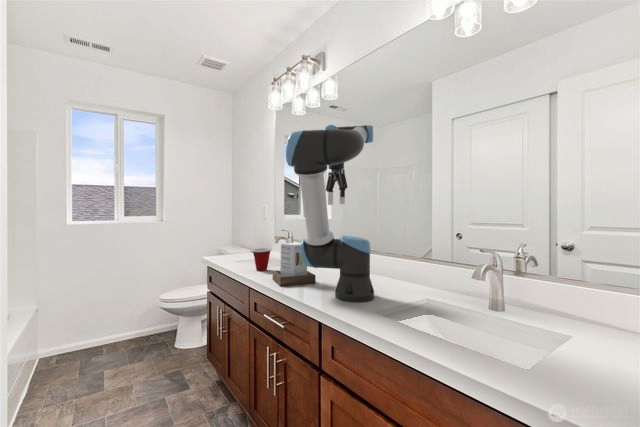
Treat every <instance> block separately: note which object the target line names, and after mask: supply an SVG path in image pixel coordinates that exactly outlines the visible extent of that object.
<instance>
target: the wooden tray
mask: <svg viewBox="0 0 640 427" xmlns="http://www.w3.org/2000/svg"><path fill="white" fill-rule="evenodd" d="M272 280H273V281H274V282H275V283H276V285H278V286H279V287H281V288H282V287H289V286H290V287H291V286H294V287H295V286H303V285H316V274H314V273H312V271H308V270H307V275H301V276H285V277H282V276H281V275H280V270H273V271H272Z"/></svg>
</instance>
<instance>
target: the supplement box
mask: <svg viewBox="0 0 640 427" xmlns="http://www.w3.org/2000/svg"><path fill="white" fill-rule="evenodd" d="M300 247H301V242H290V243H289V242H288V243H281V244H280V266H279V267H280V270H279V271H280V275H281V276H282V277H285V276H301V275H307V271H308V266H306V265H305V264H304V263H303V261H302V258H301V248H300Z"/></svg>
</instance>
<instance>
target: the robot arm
mask: <svg viewBox="0 0 640 427" xmlns="http://www.w3.org/2000/svg"><path fill="white" fill-rule="evenodd" d="M373 142H374V126H373V125H371V124H369V125H367V124H364V125H355V126H354V125H352V126H335V125H333V124H329V125H326V126H325V127H324V128H323V129H311V130H299V131H292V132H291V134H289V136H288V138H287V140H286V147H285V160H286V163H287V165H288V166H289V167H290V168H291V167H292V168H293V171H294V174H295V175H297V176H298V177H299V182H300V184H299V185H300V190H301V198H302V205H303V211H304V212H303V213H304V220H305V221H304V222H305V228H306V234H305V235H304V237H303V239H302V240H301V241H300V243H301V247H300V248H301V258H302V261H303V263H304V264H305V265H306V266H307V268H308V267H309V268H315V269H318V268H319V269H335V270H339V278H338V281H337V284H336V287H335V289H334V290H335V291H334V296H335V298H336V299H338V300H341V301H343V302H344V301H346V302H351V303H353V302H354V303H355V302H356V303H361V302H362V303H363V302H365V303H366V302H369V301H372V300H374V299H375V289H374V287H373V283H372V280H371V253H372V252H371V243H370V241H369V240H368V239H366V238H363V237H358V236H352V235H340V237H339V238H335V237H334V235H335V234H334V233H333V232H332V231H331V230H330V224H329V216H328V206H333V205H334V188H335V185H336V183H337V185H338V205H345V204H346V202H345V201H346V189H348V183H347V178H346V177H347V176H346V175H345V174H346V173H345V172H346V171H345V163H347V162H350V161H351V160H353V159H354V158H356V157H358V156H359V155H360V154H361V152H362V151H363V150H364V145H365V144H368V143H369V144H370V143H373ZM328 169H329V170H331V171H330V172H328V174H327V176H328V177H327V180H326V181H327V182H326V184H325V176H324V174H325V172H326V171H327V170H328ZM326 192H327V194H326ZM326 195H327V196H326Z"/></svg>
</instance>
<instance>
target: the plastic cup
mask: <svg viewBox="0 0 640 427" xmlns="http://www.w3.org/2000/svg"><path fill="white" fill-rule="evenodd" d="M271 251H272V248H270V247H263V248H262V247H261V248H255V249H252V250H251V252H252V253H253V258H254V263H255V270H256V272H266V271H267V270H268V266H269V261H270V254H271Z"/></svg>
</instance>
